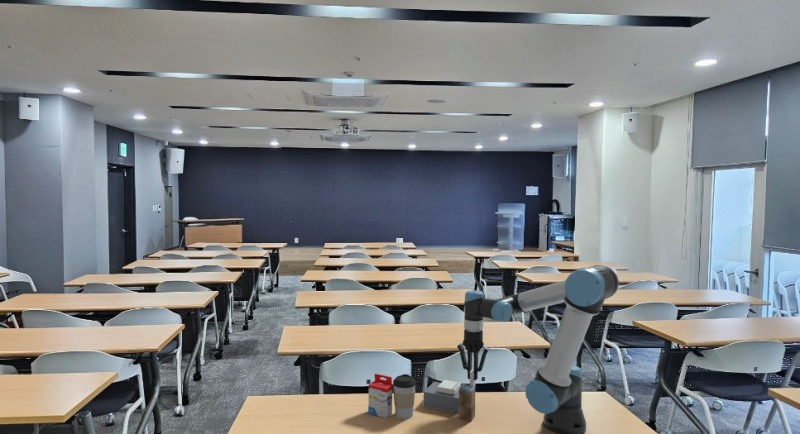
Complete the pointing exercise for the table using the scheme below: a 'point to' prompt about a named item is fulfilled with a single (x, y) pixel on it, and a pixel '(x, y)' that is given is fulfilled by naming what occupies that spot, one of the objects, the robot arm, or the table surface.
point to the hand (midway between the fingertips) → (472, 387)
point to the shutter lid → (449, 387)
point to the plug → (467, 402)
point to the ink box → (380, 396)
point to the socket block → (441, 399)
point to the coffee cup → (404, 396)
